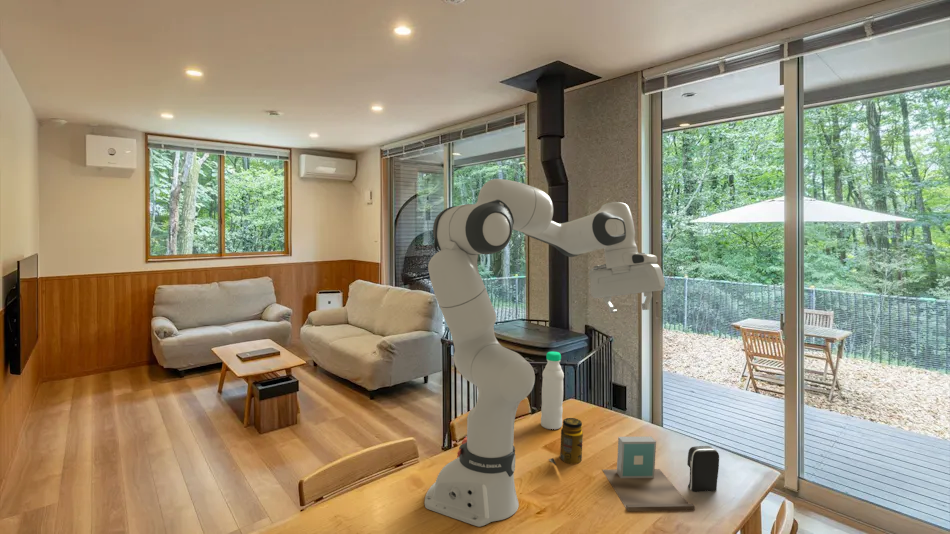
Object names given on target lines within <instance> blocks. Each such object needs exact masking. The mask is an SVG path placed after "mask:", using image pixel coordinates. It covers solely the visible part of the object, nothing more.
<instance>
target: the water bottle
mask: <svg viewBox="0 0 950 534" xmlns="http://www.w3.org/2000/svg"><path fill="white" fill-rule="evenodd" d="M545 356H546V361H547V363H546V365H545V366H544V367H545V368H543V371H542V372H541V373H542V374H541V375H542V382H541V409H540V412H541V417H540V425H541V427H543V428H545V429H547V430H551V429H552V431H553V429H554V430H559V429H560V428H561V429H562V428H563V412H564V411H563V410H564V409H563V402H564V401H563V400H564V378H565V375H564V374H565V373H564V371H563V369H562V365H561V364H560V363H561V359H562V355H561V353H560V352H559V351H547V352H546V355H545Z"/></svg>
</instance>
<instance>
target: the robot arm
mask: <svg viewBox="0 0 950 534" xmlns="http://www.w3.org/2000/svg"><path fill="white" fill-rule="evenodd" d="M553 216H554V204H553V201H552V199H551V197H550V195H548V194H547V192H545V191H543V190H542V189H540V188H538V187H535V186H532V185H529V184H526V183H523V182H519V181H515V180H510V179H504V178H503V179H502V178H494V179H493V178H491V179H490V180H488V181H487V182H485V183H484V184H483V185H482V187H481V188H480V190H479V192H478V196H477V200H476V203H474V204H473V203H466V204H461V205H456V206H455V205H454V206H450V207H447V208H445V209H443V210H441V211H440V212H439V214H437V216H436V217H435V219H434V221H433V227H432V228H433V229H432V232H433V239H434V241H433V242H434V243H433V247H434V249H435V251H436V253H435V254H433V255H432V257H431V258H430V260H429V262H428V265H427V267H428V268H427V269H428V274H429V279H430V283H431V286H432V287H431V288H432V290H433V293H434V295H435V298H436V301H437V304H438V307H439V308H440V310H441V313H442V316H443V317H444V320H445V322H446V325H447V327H448V330H449V332H450V334H451V339H452V341H453V342H452V343H453V346H454V347H453V348H454V353H453V364H454V366H455V368H456V369H457V371H458V372H459V374H460V375H461V376H462V377H463V378H464V379H465V380H466V381H468V382H470V383H471V384H473V385H474V386H475V387H476V388H477V393H478V396H477V401H476V403H475V406H474V407H472V409H470V411H469V412H468V414H467V420H466V421H467V422H466V423H467V424H466V428H467V429H466V431H467V432H466V437H464V438H463V440H461V445H460V446H459V449H458V451H457V453H456V456H457V458H455V459H454V460H452V461H450V462H448V463H447V464H446V465H444V466H443V467H442V468H441V470H440V472H439V473H438V474H437V477H436V480H435V482H434V483H432V485H431V486H429V489H428V490H427V492H426V494H425V496H424V507H425V508H426V509H427V510H430V511H433V512H435V513H437V514H440V515H444V516H447V517H449V518H452V519H455V520H458V521H460V522H464V523H466V524H469V525H472V526H475V527H479V528H480V527H483V526H485V525H486V526H487V525H488V524H489V523H491V522H496V521H498V522H499V521H502V520H505V519H508V518H510V517H511V516H513V515H514V514H516V512H517V511H518V509H519V507H520V504H519V499H518V496H517V491H516V485H515V474H514V473H515V470H516V448H515V446H514V439H515V438H514V435H515V434H514V433H515V421H516V420H515V419H516V414H517V411H518V408H519V406H520V404H521V402H522V401H524V399H526V398H527V397H528V396H529V395H530V394H531V392H532V391H533V389H534V385H535V382H536V375H535V371H534V370H535V369H534V368H533V366H532V365H531V364H530V362H529V361H527V360H526V358H525V357H523V356H522V355H521V354H520V353H518V352H516V351H514V350H511V349H509V348H507V347H505V346H503V345H502V344H501V343H500V342H499V341H498V339H497V338H496V334H495V333H496V332H495V330H494V329H495V328H494V326H495V323H496V321H497V313H496V312H495V308H494V305H493V303H492V301H491V298H490V296H489V293H488V291H487V287H486V285H485V283H484V281H483V279H482V276H481V274H480V272H479V266H478V259H479V255H492V254H496V253H498V252H501V251H502V250H504V249H505V248H506V247H507V246H508V244H509V242H510V241H511V238H512V235H513V231H518V232H521V233H522V234H523V235H526V236H528V237H529V238H532V239H535V240H536V241H539V242H542V243H545V244H547V245H550V246H552V247H553V248H555V249H556V250H557V251H559V252H560V253H561V255H564V256H566V257H569V258H575V257H577V256H581V255H583V254H587V253H591V252H595V251H599V250H603V249H604V250H603V252H604V253H603V254H604V260H605V264H599V265H594V266H592V268H590V270H589V271H588V276H589V283H590V285H589V291H590V296H591V297H592V298H593V299H601V298H603V302H604V304H605V305H606V307H607V308H608V312H609V314H615V313H618V310H617V306H614V304H612V302H611V301H612V299H613V298H612V297H617V296H626V295H634V294H643V296H644V297H645V300H644V302H643V303H641V310H642V311H646V310H647V311H648V310H651V305H650V303H651V301H652V298H653V292H657V291H659V292H660V291H663V290H664V288H665V286H666V282H665V276H664V273H663V271H662V268H661V266H660V265H659V264H658V263H657V262H658V257H657V255H656V254H655V255H654V254H650V253H649V254H648V253H645V252H639V251H638V246H637V245H638V244H636V241H635V239H636V238H635V236H636V230H635V223H634V220H633V219H634V218H633V215H632V212H631V209H630V207H629V205H628V204H626V203H624V202H621V201H610V202H606V203H604V204H602V205H601V206H600V209H599V210H597V211H595V212H594V213H591V214H588V215H586V216H583V217H579V218H577V219H574V220H571V221H566V222H562V223H561V222H559V223H558V222H556V221H554V220H553Z"/></svg>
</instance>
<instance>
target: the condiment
mask: <svg viewBox="0 0 950 534" xmlns="http://www.w3.org/2000/svg"><path fill="white" fill-rule="evenodd" d="M582 423H583V422H582V421H581V420H580V419H579V418H575V417H567V418H564V419H562V427H561V430H560V431H561V432H560V449H559V450H560V452H559V453H560V455H559V457H560V460H561V461H562V462H564V463H566V464H570V465H576V464H580V463H582V460H583V456H582V455H583V436H584V434H583V433H584V432H583V430H582V429H583V428H582V425H583V424H582ZM548 461H550V462H551V463H552V464H554V465H555V466H557V463H556V461H555V458H554V457H552V458H549V459H548Z"/></svg>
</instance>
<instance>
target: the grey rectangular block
mask: <svg viewBox="0 0 950 534" xmlns="http://www.w3.org/2000/svg"><path fill="white" fill-rule="evenodd" d="M617 437H618V440H617V463H616V469H617V473H618V475H619V476H620V478H654V471H655V469H656V451H657V450H656V449H657V441H656V440H655V439H654V438H653V437H652V436H617Z"/></svg>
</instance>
